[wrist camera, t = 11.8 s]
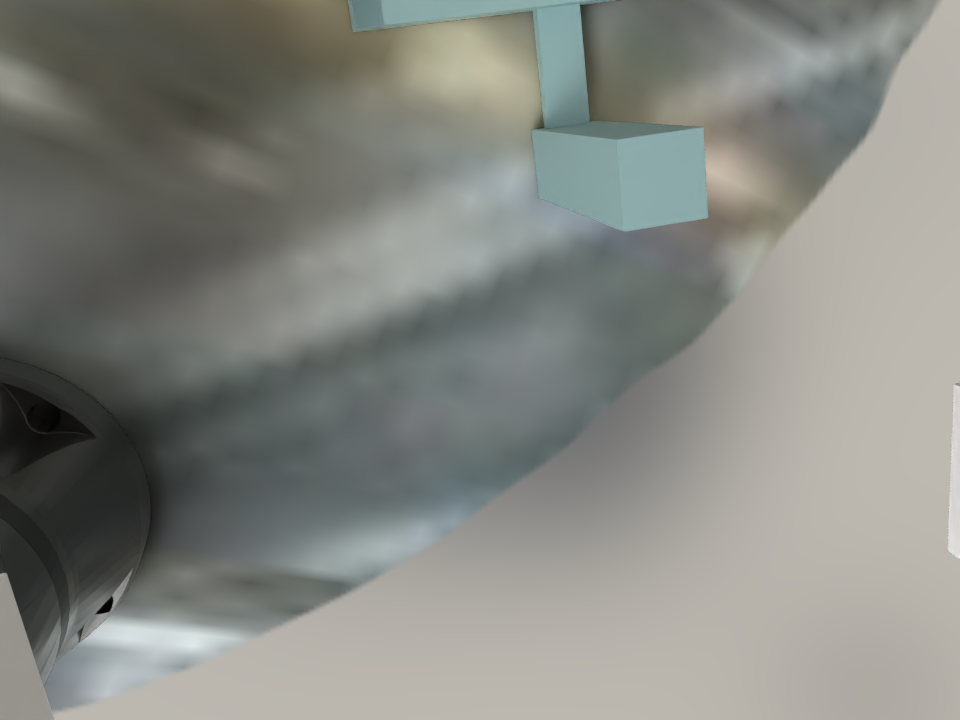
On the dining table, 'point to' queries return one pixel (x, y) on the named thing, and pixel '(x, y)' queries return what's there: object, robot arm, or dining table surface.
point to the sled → (579, 122)
